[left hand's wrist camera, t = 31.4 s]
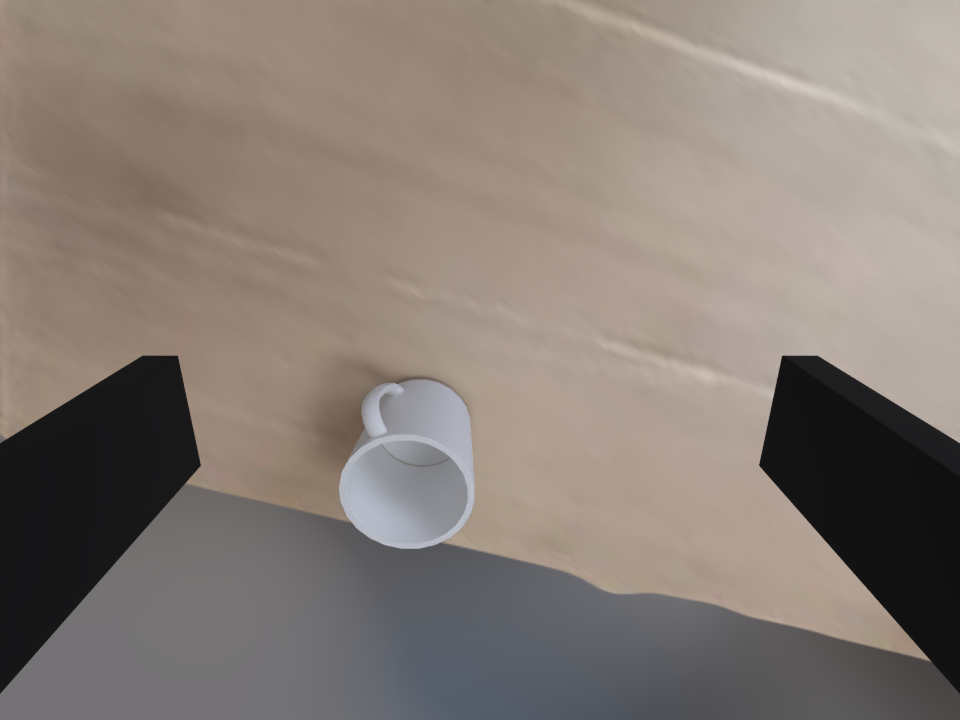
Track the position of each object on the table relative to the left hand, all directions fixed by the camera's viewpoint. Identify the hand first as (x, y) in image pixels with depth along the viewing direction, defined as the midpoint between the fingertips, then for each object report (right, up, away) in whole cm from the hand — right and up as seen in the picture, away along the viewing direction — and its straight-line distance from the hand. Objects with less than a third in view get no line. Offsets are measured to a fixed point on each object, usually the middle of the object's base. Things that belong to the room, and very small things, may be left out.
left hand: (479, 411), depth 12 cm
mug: (-5, -3, +34) cm, 34 cm away
